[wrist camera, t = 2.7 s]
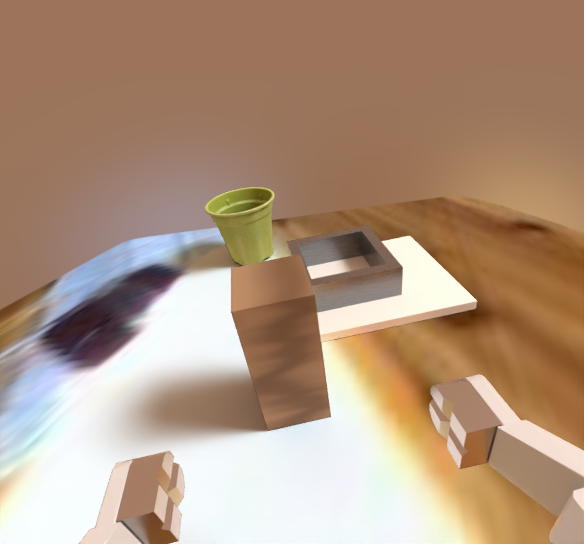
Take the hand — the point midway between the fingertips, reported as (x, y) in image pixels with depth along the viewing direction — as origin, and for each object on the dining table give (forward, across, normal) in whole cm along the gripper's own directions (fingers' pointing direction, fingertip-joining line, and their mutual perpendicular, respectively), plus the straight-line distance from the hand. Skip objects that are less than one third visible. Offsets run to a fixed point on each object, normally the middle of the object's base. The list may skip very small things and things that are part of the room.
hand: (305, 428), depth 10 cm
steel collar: (+26, -7, +14) cm, 31 cm away
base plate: (+25, -10, +14) cm, 31 cm away
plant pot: (+38, +3, +14) cm, 41 cm away
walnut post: (+12, +1, +14) cm, 19 cm away
